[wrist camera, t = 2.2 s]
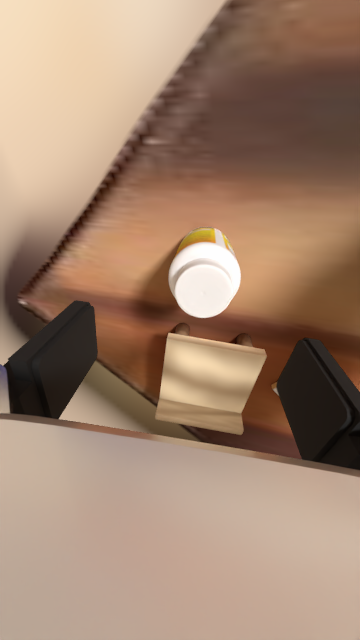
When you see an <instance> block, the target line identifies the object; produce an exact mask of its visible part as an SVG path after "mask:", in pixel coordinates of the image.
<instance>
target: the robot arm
mask: <svg viewBox="0 0 360 640" xmlns="http://www.w3.org/2000/svg"><path fill="white" fill-rule="evenodd" d="M97 353H98V351H97V339H96V326H95V314H94V307H93V306H91V305H90V303H89V302H83V301H77V300H76V301H74V302H73V303H72V304H70V305H69V306H68V307H67V308H66V309H65V310H64V311H62V312H61V313H60V314H59V315H58V316H57V317H56V318H54V319H53V320H52V321H51V322H50V323H49V324H48V325H46V326H45V327H44V328H43V329H42V330H41V331H39V332H38V333H37V334H36V335H35V336H34V337H33V338H31V339H30V340H29V341H28V342H27V343H26V344H25V345H23V346H22V347H21V348H20V349H19V350H18V351H17V352H15V353H14V354H13V355H12V356H11V357H10V358H9V359H8V360H9V361H8V362H7V363H6V364H5V365H4V366H2V365H1V364H0V640H360V392H359V391H358V389H357V388H356V387H355V385H354V384H353V383H352V382H351V380H350V379H349V378H348V376H347V375H346V374H345V372H344V371H343V370H342V368H341V367H340V366H339V365H338V363H337V362H336V361H335V359H334V358H333V357H332V355H331V354H330V353H329V352H328V350H327V349H326V348H325V346H324V345H323V344H322V342H321V341H320V340H316V339H310V338H304V339H302V340H299V341H298V343H297V344H296V346H295V348H294V350H293V352H292V354H291V356H290V358H289V360H288V362H287V364H286V366H285V368H284V370H283V371H282V373H281V375H280V377H279V379H278V381H277V385H276V388H277V392H278V394H279V397H280V400H281V403H282V405H283V408H284V411H285V414H286V416H287V419H288V422H289V425H290V427H291V430H292V433H293V436H294V438H295V441H296V444H297V447H298V449H299V452H300V455H301V457H302V460H301V459H296V458H290V457H284V456H278V455H273V454H267V453H261V452H255V451H250V450H244V449H238V448H232V447H226V446H220V445H214V444H208V443H202V442H196V441H190V440H184V439H178V438H172V437H167V436H161V435H154V434H148V433H142V432H135V431H130V430H123V429H117V428H111V427H105V426H99V425H93V424H87V423H80V422H73V421H67V420H59V417H60V415H61V414H62V412H63V411H64V409H65V408H66V406H67V404H68V403H69V401H70V400H71V398H72V397H73V395H74V393H75V392H76V390H77V388H78V387H79V385H80V384H81V382H82V381H83V379H84V377H85V376H86V374H87V373H88V371H89V370H90V368H91V366H92V365H93V363H94V362H95V360H96V358H97Z"/></svg>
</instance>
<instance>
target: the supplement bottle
mask: <svg viewBox="0 0 360 640" xmlns="http://www.w3.org/2000/svg"><path fill="white" fill-rule="evenodd" d="M240 278H241V275H240V268H239V265H238V262H237V259H236V257H235V254H234V252H233V249H232V247H231V244H230V242H229V240H228V238H227V237H226V236H225V235H224V234H223V233H222V232H221V231H219V230H217V229H215V228H212V227H200V228H196V229H194V230H192V231H191V232H189V233H188V234H187V235H186V236H185V237H184V239H183V240H182V242H181V244H180V246H179V248H178V250H177V252H176V255H175V257H174V259H173V261H172V263H171V266H170V269H169V277H168V280H169V286H170V289H171V292H172V294H173V295H174V297H175V298H176V301H177V303H178V305H179V306H180V307H181V309H182V310H184V311H185V312H186V313H188V314H189V315H192V316H194V317H199V318H208V317H212V316H215V315H217V314H219V313H221V312H222V311H223V310H225V308H226V307H227V306H228V305H229V303H230V301H231V300H232V299H233V297H234V296H235V294H236V293H237V291H238V288H239V285H240Z"/></svg>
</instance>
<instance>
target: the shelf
mask: <svg viewBox="0 0 360 640" xmlns="http://www.w3.org/2000/svg"><path fill="white" fill-rule="evenodd" d="M189 330H190V328H189V326H188V325H187V324H185V323H180V324H178V325H177V326H176V330H175V334H173V333H168V337H167V342H166V350H165V358H164V366H163V374H162V381H161V389H160V397H159V402H158V407H157V411H156V416H155V419H157V420H163V421H168V422H173V423H178V424H184V425H189V426H195V427H200V428H206V429H211V430H217V431H222V432H228V433H233V434H238V435H242V433H243V431H244V429H243V422H242V415H241V413H242V411H243V408H244V406H245V404H246V402H247V399H248V397H249V395H250V393H251V391H252V388H253V386H254V384H255V382H256V380H257V377H258V375H259V373H260V371H261V369H262V366H263V364H264V362H265V360H266V357H267V355H266V352H265V349H260V348H254V347H253V345H252V342H251V338H250V336H249V335H248V334H240V335H238V336H237V338H236V341H237V344H231V343H225V342H219V341H214V340H208V339H202V338H196V337H190V336H189Z"/></svg>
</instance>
